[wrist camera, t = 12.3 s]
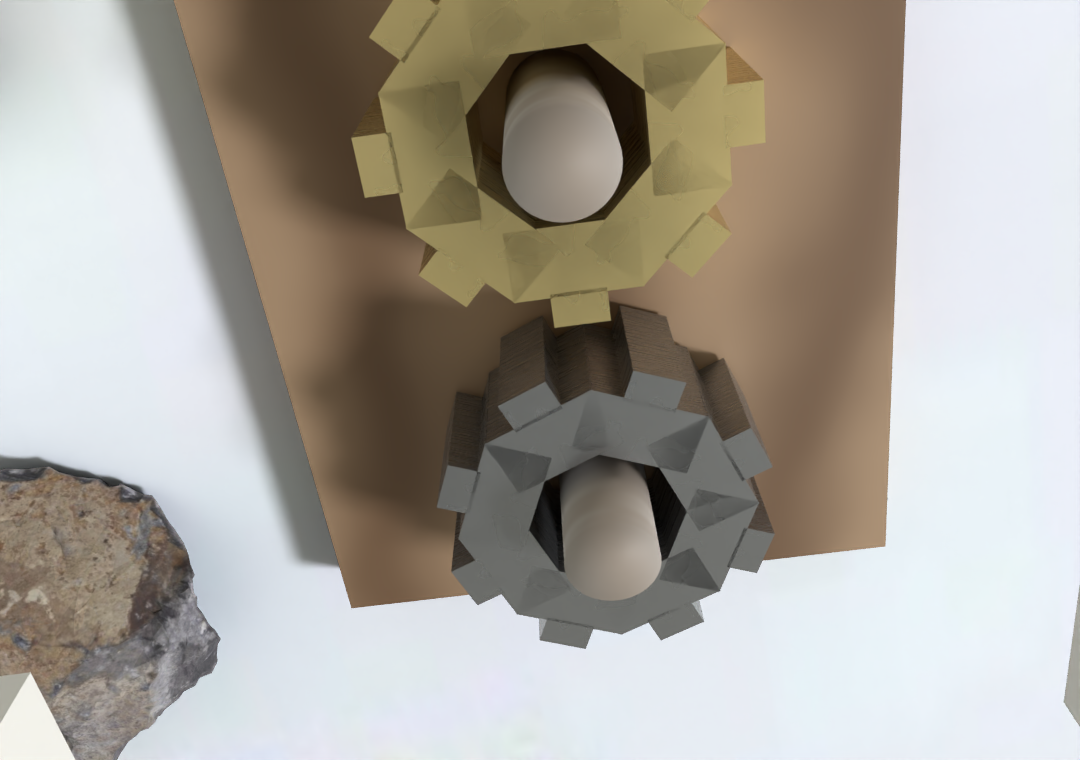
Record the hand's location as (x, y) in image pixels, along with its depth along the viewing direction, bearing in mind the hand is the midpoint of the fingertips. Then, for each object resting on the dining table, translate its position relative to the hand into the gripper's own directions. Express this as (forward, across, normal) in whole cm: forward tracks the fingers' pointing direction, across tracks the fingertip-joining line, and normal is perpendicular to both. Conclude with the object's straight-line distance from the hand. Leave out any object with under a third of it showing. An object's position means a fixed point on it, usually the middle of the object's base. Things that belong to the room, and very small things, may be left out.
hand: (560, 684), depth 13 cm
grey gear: (+17, +1, -7) cm, 18 cm away
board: (+19, +1, -1) cm, 19 cm away
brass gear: (+17, +1, +4) cm, 17 cm away
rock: (+20, -19, -13) cm, 30 cm away
